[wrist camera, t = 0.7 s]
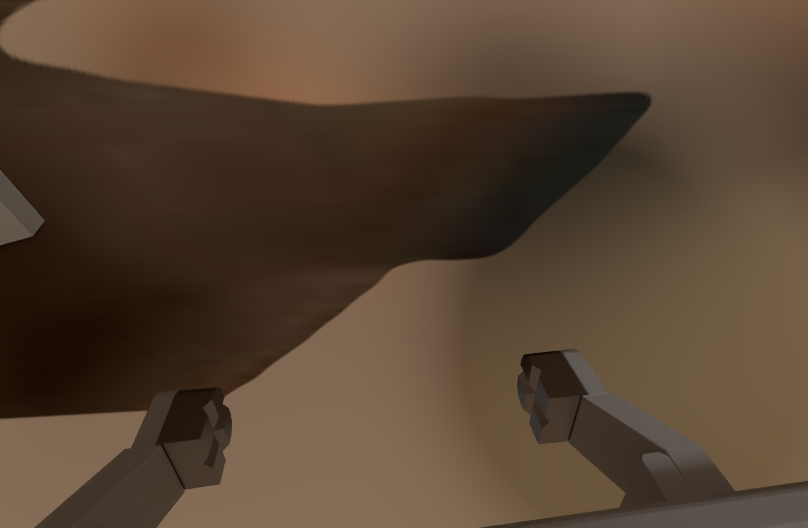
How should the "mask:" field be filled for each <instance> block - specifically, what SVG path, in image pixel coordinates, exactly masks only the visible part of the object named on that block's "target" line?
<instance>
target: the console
mask: <svg viewBox="0 0 808 528" xmlns="http://www.w3.org/2000/svg"><path fill="white" fill-rule="evenodd" d="M44 221H45V220H44V219H43V218H42V217H41V216H40V215H39V213H38V212H37V211H36V210H35V209H34V208H33V207H32V205H31V204H30V203H29V202H28V201H27V200H26V199H25V198H24V196H23V195H22V194H21V193H20V192H19V191H18V190H17V188H16V187H15V186H14V185H13V184H12V183H11V182H10V180H9V179H8V178H7V177H6V176H5V175H4V174H3V173H2V171H1V170H0V245H3V244H6V243H10V242H14V241H17V240H21V239H25V238H28V237H32V236H33V235H34V234H35V233H36V232H37V230H38V229H39V228H40V226H41V225H42V224H43V222H44Z"/></svg>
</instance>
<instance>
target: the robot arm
mask: <svg viewBox="0 0 808 528" xmlns="http://www.w3.org/2000/svg"><path fill="white" fill-rule="evenodd" d="M520 365H521V367H522V369H523V372H522V373H521V374H520V375H519V376H518V382H517V387H518V395H519V399H520V403H521V405H522V407H523V410H525V411H526V412H527V413H529V414H530V415H531V417H530V422H529V424H530V426H531V428H532V431H533V433H534V435H535V437H536V440H537V442H538V444H543V443H555V442H565V441H569V443H570V444H571V445H572V446H573V447H574V448H575V449H576V450H578V451H579V452H580V453H581V454H582V455H583V456H584V457H586V458H587V459H588V460H589V461H590V462H591V463H592V464H593V465H595V466H596V467H597V468H598V469H599V470H600V471H601V472H603V473H604V474H605V475H606V476H607V477H608V478H609V479H611V480H612V481H613V482H614V483H615V484H616V485H617V486H618V487H620V488H621V489H622V490H623V491H624V492H625V493H626V494H625V496H624V498H623V500H622V503H621V505H620V507H619V508H614V509H607V510H601V511H593V512H586V513H579V514H572V515H565V516H559V517H551V518H544V519H537V520H531V521H523V522H516V523H509V524H503V525H495V526H489V527H482V528H808V481H804V482H796V483H789V484H782V485H775V486H769V487H761V488H754V489H747V490H740V491H735V490H734V489H733V488H732V486H731V485H730V484H729V482H728V481H727V480H726V479H725V477H724V476H723V475H722V473H721V472H720V471H719V469H718V468H717V467H716V466H715V464H714V463H713V462H712V460H711V459H710V458H709V456H708V455H707V454H706V453H705V451H704V450H703V449H702V447H701V446H700V445H698V444H697V443H695V442H693V441H692V440H690V439H688V438H687V437H685V436H684V435H682V434H680V433H679V432H677V431H675V430H674V429H672V428H670V427H669V426H667V425H665V424H664V423H662V422H660V421H659V420H657V419H655V418H654V417H652V416H651V415H649V414H647V413H646V412H644V411H642V410H640V409H639V408H637V407H636V406H634V405H632V404H631V403H629V402H627V401H626V400H624V399H623V398H621V397H619V396H618V395H616V394H614V393H607V392H606V390H605V388H604V387H603V386H602V384H601V382H600V381H599V379H598V378H597V376H596V375H595V373H594V372H593V370H592V369H591V367H590V366H589V364H588V363H587V361H586V360H585V358H584V357H583V355H582V354H581V352H580V351H579V350H577V349H567V350H559V351H550V352H541V353H532V354H524V355H523V357H522V359H521V364H520ZM223 400H224V394H223V391H222V389H221V388H219V387H214V388H202V389H190V390H179V391H169V392H159V393H158V394H157V395H156V396H155V397H154V398H153V400H152V402H151V405H150V407H149V409H148V411H147V414H146V416H145V418H144V420H143V423H142V425H141V427H140V429H139V432H138V434H137V436H136V438H135V441H134V443H133V445H132V447H131V448H129V449H124V450H123V451H122V452H121V453H120V454H119V455H118V456H116V457H115V458H114V459H113V460H112V461H111V462H110V463H108V464H107V465H106V466H105V467H104V468H103V469H101V470H100V471H99V472H98V473H97V474H96V475H95V476H93V477H92V478H91V479H90V480H89V481H88V482H86V483H85V484H84V485H83V486H82V487H81V488H79V490H77V491H76V492H75V493H74V494H73V495H71V496H70V497H69V498H68V499H67V500H66V501H64V503H62V504H61V505H60V506H59V507H58V508H56V509H55V510H54V511H53V512H52V513H51V514H50V515H49V516H47V517H46V518H45V519H44V520H43V521H41V522H40V523H39V524H38V525H37V526H36V527H35V528H156V527H157V526H158V525H159V524H160V522H161V521H162V520H163V518H164V517H165V516H166V515H167V513H168V512H169V511H170V510H171V508H172V507H173V506H174V505H175V503H176V502H177V501H178V500H179V498H180V497H181V496H182V495H183V493H184V492H185V491H184V490H185V489H192V488H198V487H205V486H211V485H218V484H220V481H221V477H222V472H223V469H224V464H225V457H224V454H223V452H222V451H223V450H224V449H225V448H226V447H227V446H228V445H229V443H230V438H231V431H232V419H231V414H230V411H229V408H228V407H226V406H225V405H223Z"/></svg>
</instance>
